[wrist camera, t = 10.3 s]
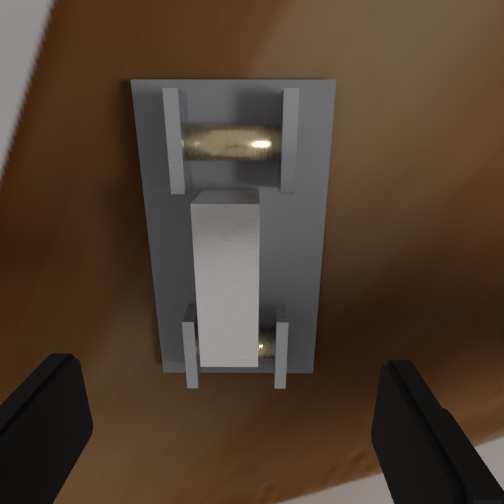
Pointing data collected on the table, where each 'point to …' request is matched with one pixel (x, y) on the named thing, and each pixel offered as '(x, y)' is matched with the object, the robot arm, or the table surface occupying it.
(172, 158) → the twin roller tray
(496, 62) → the table surface
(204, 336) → the tall grey pillar block
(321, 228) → the grey flat plate
